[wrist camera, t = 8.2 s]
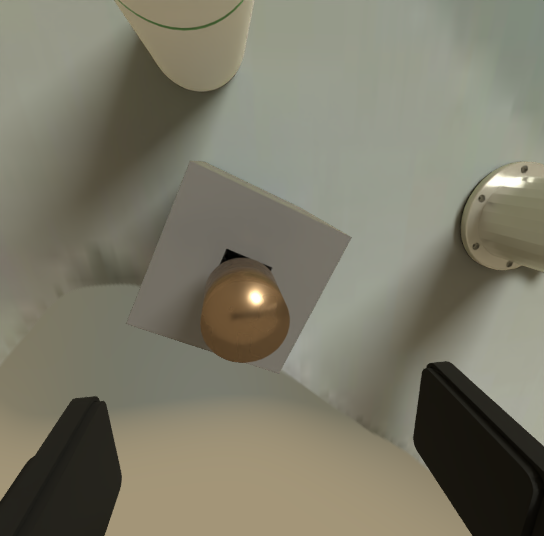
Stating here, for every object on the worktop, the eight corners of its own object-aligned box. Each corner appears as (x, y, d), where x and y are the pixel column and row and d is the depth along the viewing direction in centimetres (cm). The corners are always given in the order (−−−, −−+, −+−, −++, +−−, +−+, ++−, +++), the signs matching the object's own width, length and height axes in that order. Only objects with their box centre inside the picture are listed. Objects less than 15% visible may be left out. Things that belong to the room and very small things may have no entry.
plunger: (283, 217, 34) (354, 281, 16) (252, 282, 36) (283, 410, 17) (212, 184, 32) (198, 213, 14) (183, 255, 34) (135, 366, 15)
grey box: (301, 208, 35) (351, 237, 21) (258, 295, 38) (278, 373, 24) (204, 161, 33) (190, 160, 19) (164, 259, 35) (125, 323, 21)
